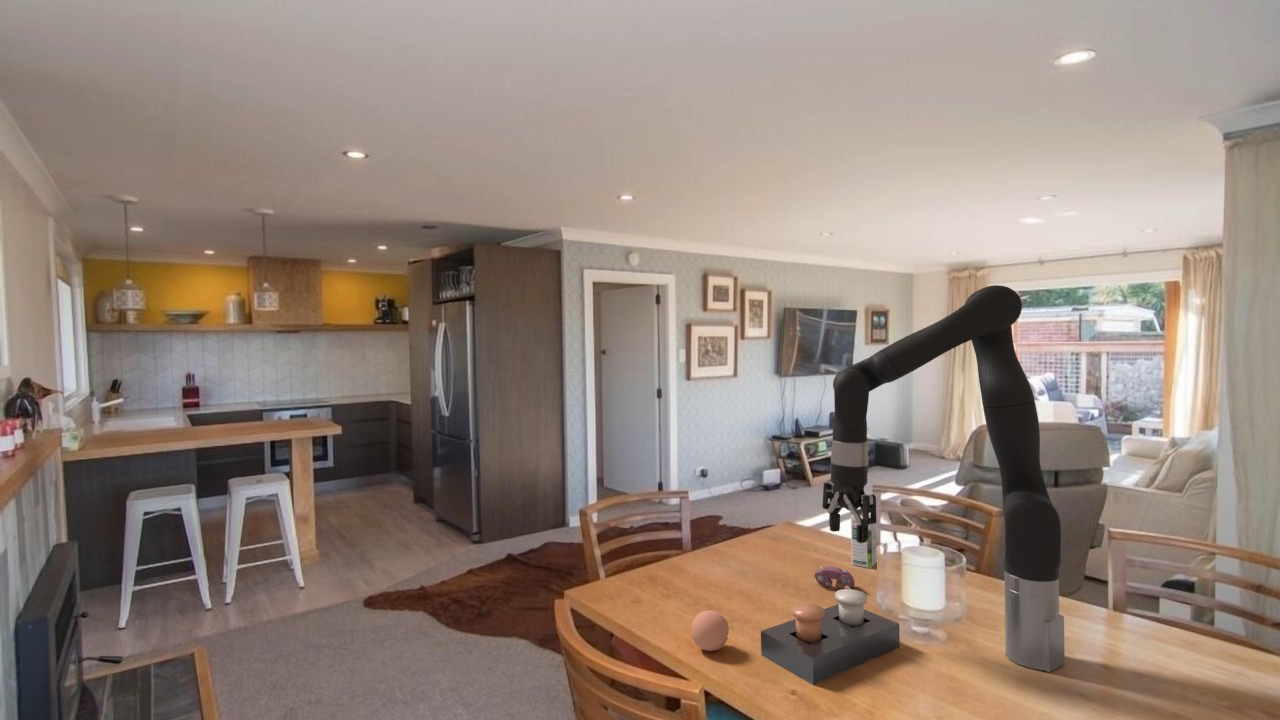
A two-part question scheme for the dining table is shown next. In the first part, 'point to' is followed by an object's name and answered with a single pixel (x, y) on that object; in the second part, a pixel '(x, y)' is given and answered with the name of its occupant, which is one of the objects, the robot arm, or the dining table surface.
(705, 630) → the toy ball
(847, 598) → the grey button
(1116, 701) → the dining table surface
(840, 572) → the video game controller
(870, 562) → the syrup box
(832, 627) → the button panel
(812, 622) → the terracotta button
